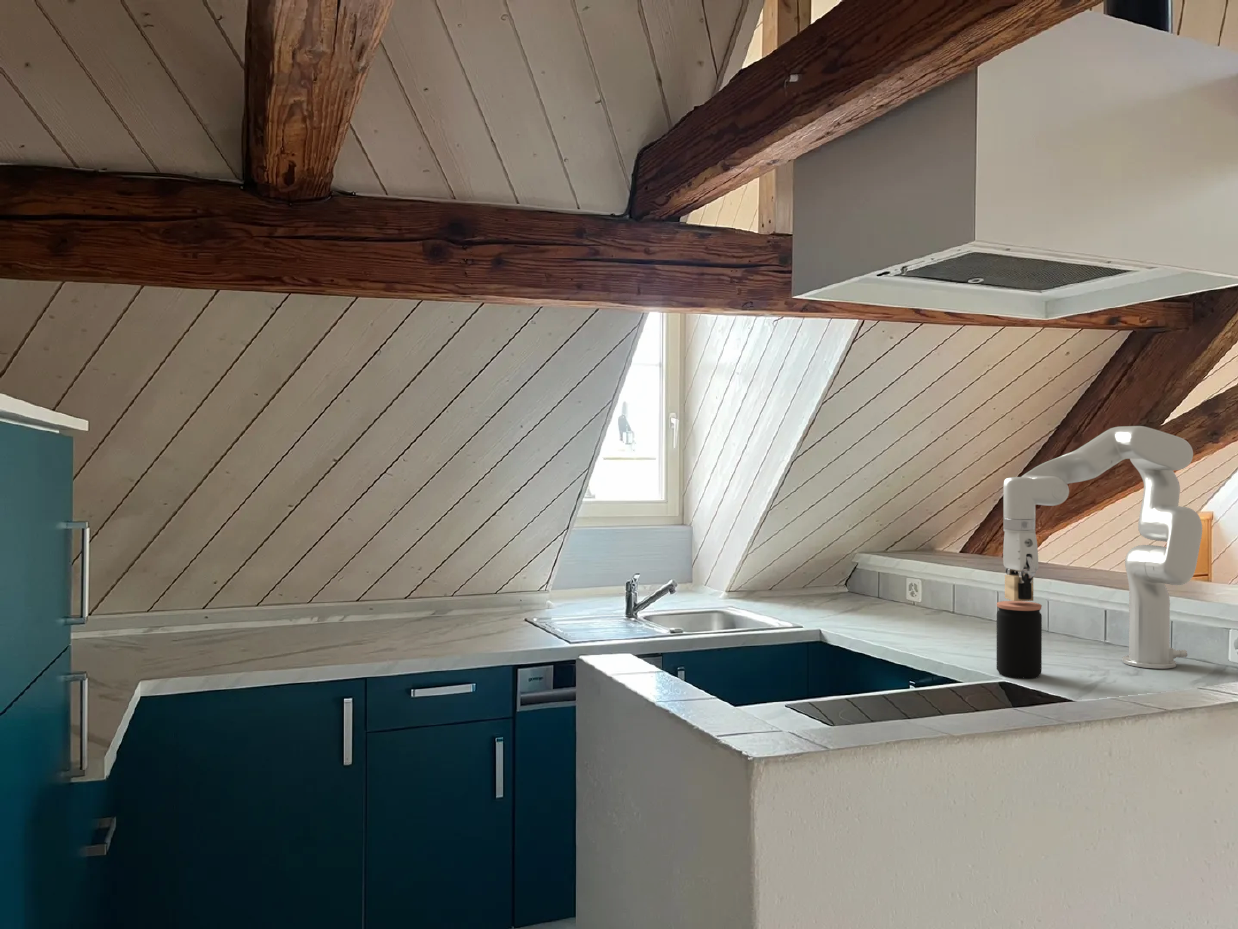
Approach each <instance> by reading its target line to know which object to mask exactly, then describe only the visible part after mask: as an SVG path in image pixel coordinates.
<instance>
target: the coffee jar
mask: <svg viewBox="0 0 1238 929" xmlns="http://www.w3.org/2000/svg"><path fill="white" fill-rule="evenodd" d="M1042 606H1043V605H1042V604H1040V603H1037V602H1033V601H1012V600H1003V601H997V602H996V607H997V608H998V610H997V611H996V670H997V672H998V674H999V675H1001V676H1003V677H1006V678H1012V679H1023V680H1025V679H1026V680H1029V679H1030V680H1031V679H1037V678H1038V676H1039V677H1040V675H1041V673H1042V671H1043V670H1042V666H1043V665H1042V663H1043V662H1042V656H1043V655H1042V653H1043V652H1042V646H1043V645H1042V644H1043V642H1042V641H1043V640H1042V639H1043V638H1042V637H1043V636H1042V635H1043V634H1042V633H1043V631H1042V628H1043V627H1042V626H1043V625H1042V623H1043V622H1042V621H1043V619H1042V618H1043V615H1042V613H1041V610H1042ZM1036 677H1037V678H1036Z"/></svg>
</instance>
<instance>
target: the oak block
mask: <svg viewBox="0 0 1238 929" xmlns="http://www.w3.org/2000/svg"><path fill="white" fill-rule="evenodd" d="M1024 575H1025V573H1024V574H1023V577H1024ZM1018 583H1020V579H1019V575H1007V574H1004V598H1005V599H1006V600H1008V601H1026V602H1033V601H1034V578H1033V579H1032V583H1031V599H1019V598H1018Z"/></svg>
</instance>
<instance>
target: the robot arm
mask: <svg viewBox="0 0 1238 929" xmlns="http://www.w3.org/2000/svg"><path fill="white" fill-rule="evenodd" d="M1193 459H1194V451H1193V447H1192V445H1191V444H1190V443H1189V441H1187V440H1186V439H1185V438H1182V437H1180V436H1177V435H1174V434H1171V433H1168V432H1164V431H1161V430H1158V429H1155V428H1152V427H1149V426H1144V425H1129V426H1128V425H1127V426H1123V425H1122V426H1115V427H1110V428H1108V429H1107V430H1105V431H1103V432H1102V433H1100V434H1099V435H1097V436H1095V437H1094V438H1093V439H1091V440H1090V441H1089V442H1087V443H1085V444H1083V445H1082V446H1080V447H1078V448H1077V449H1075V450H1073V451H1071V452H1067V453H1065V454H1063V455H1060V456H1058V457H1056V458H1055V457H1054V458H1052V459H1050V460H1048V461H1045V462H1043V463H1040V464H1038V465H1037V466H1035V467H1033V468H1032V469H1031V470H1029V471H1027V472H1026V473H1024V474H1023V475H1021V476H1011V477H1007V478H1005V479H1004V480H1003V489H1002V490H1003V518H1002V519H1003V525H1002V526H1003V528H1002V529H1003V532H1004V533H1003V534H1004V535H1003V546H1002V548H1003V549H1002V562H1003V568H1004V570H1005V573H1006V575H1019V579H1020V583H1018V598H1019V599H1031V583H1032V579H1033V580H1034V576H1035V575H1036V574H1037V571H1038V570H1039V549H1038V548H1039V547H1038V540H1037V534H1036V506H1037V505H1039V506H1049V507H1050V506H1058V505H1061V504H1063V503H1064V502H1065V501H1066V500H1067V499H1068V497H1069V495H1070V488H1069V486H1068V484H1073V483H1079V482H1084V481H1085V482H1086V481H1089V480H1092V479H1095V478H1098V477H1099V476H1101V475H1102V474H1104V473H1105V472H1106V471H1107V470H1110V469H1111V468H1112V467H1114V466H1116V465H1117V464H1118V463H1120V462H1121V461H1124V460H1130V462H1131V464H1132V465H1133V466H1134V468H1135V469H1136V470H1137V471H1138V473H1139V475H1140V477H1141V479H1142V482H1143V491H1142V492H1143V494H1142V499H1141V505H1140V511H1139V515H1138V516H1139V517H1138V523H1137V524H1138V526H1137V527H1138V532H1139V534H1140V536H1141V537H1143V538H1145V539H1147V540H1150V541H1155V542H1165V543H1166V546H1162V545H1153V544H1152V545H1151V544H1140V545H1136V546H1134V547H1131V549H1130V550H1128V552H1127V553H1126V556H1125V559H1124V568H1125V572H1126V577H1127V582H1128V592H1129V593H1128V596H1129V598H1128V603H1129V604H1128V605H1129V606H1128V607H1129V608H1128V649H1129V650H1128V655H1125V656H1123V657H1122V660H1121V661H1122V663H1124V664H1126V665H1129V666H1133V667H1139V668H1146V669H1154V670H1155V669H1163V670H1164V669H1173V668H1176V666H1177V662H1176V660H1174V659H1176V658H1187V657H1188V652H1187V650H1186V649H1176V648H1173V647H1170V639H1171V638H1170V627H1171V626H1170V623H1171V622H1170V618H1171V615H1170V608H1171V603H1170V601H1171V600H1170V598H1171V597H1170V594H1169V590H1168V588H1167V587H1166V585H1169V586H1170V585H1172V586H1183V585H1186V584H1187V583H1189V582H1190V581H1191V580H1192V578H1193V577H1194V575H1195V571H1196V569H1197V564H1198V558H1199V552H1200V546H1201V542H1202V535H1203V524H1202V520H1201V517H1200V515H1199V513H1198V512H1196V510H1194V509H1192V508H1191V507H1186V506H1182V505H1181V506H1179V503H1180V494H1181V485H1180V482H1179V479H1178V477H1177V474H1176V473H1175V472H1174V471H1181V470H1184V469H1186V468H1187V467H1188V466H1189V465H1190V464H1191V462H1192V460H1193ZM1023 574H1024V577H1023Z"/></svg>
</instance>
